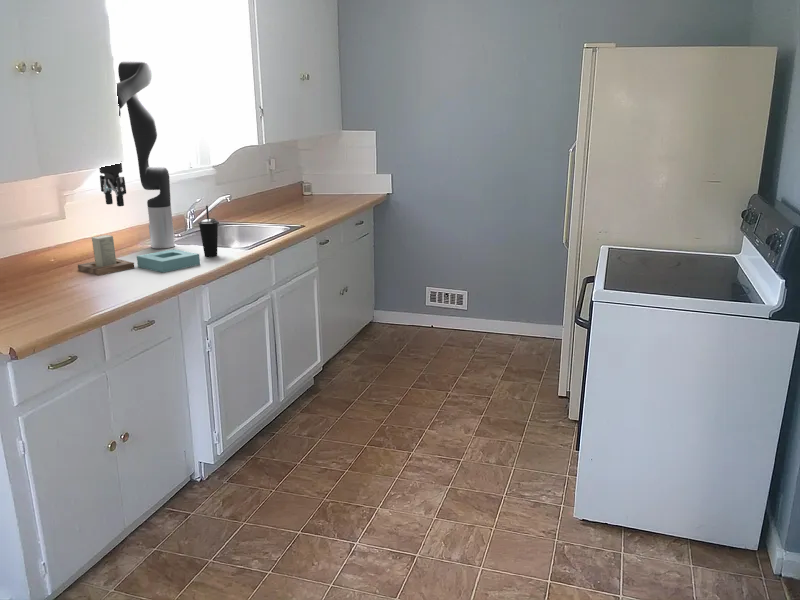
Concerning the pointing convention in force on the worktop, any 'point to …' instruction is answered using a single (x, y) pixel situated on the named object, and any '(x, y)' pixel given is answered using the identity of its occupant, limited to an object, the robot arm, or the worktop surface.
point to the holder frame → (106, 267)
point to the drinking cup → (209, 235)
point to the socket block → (168, 260)
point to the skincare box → (104, 250)
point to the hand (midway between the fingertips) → (115, 205)
